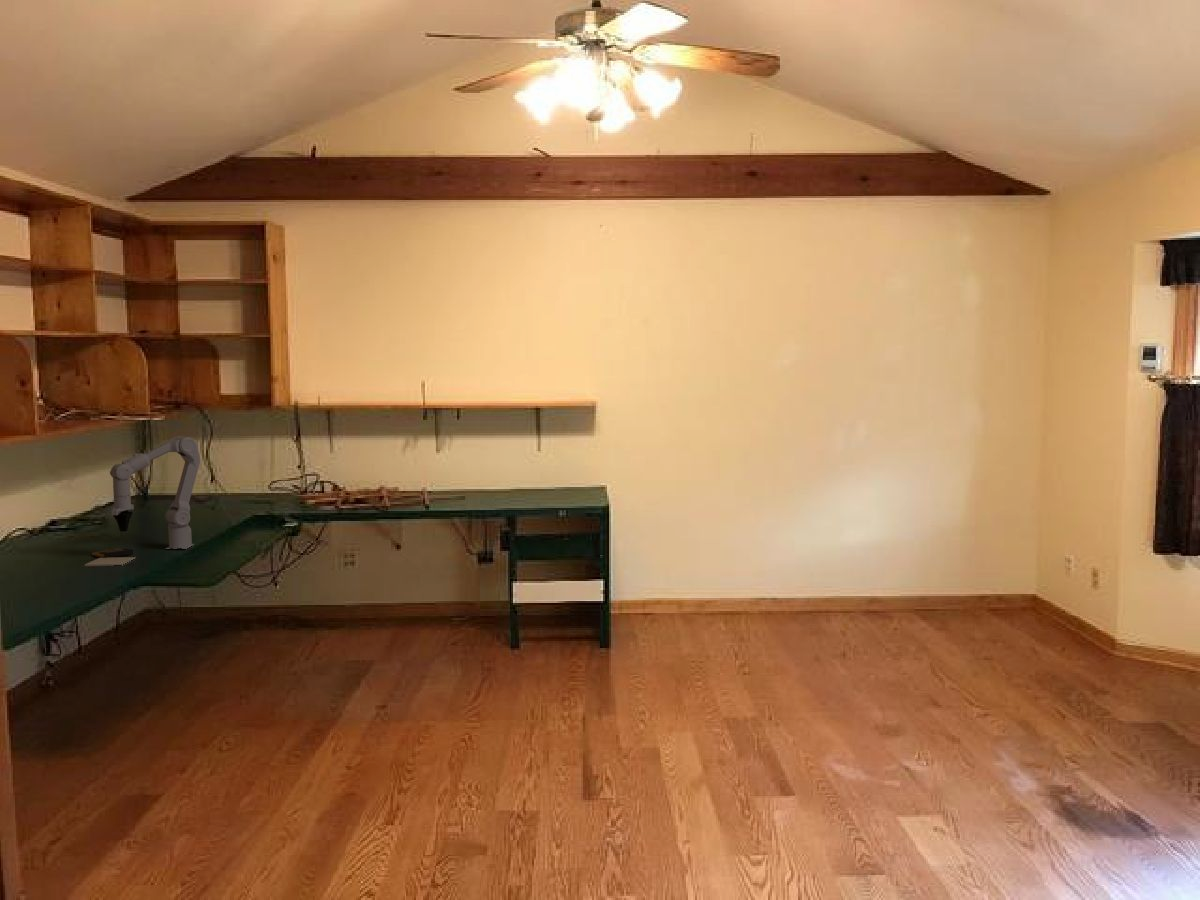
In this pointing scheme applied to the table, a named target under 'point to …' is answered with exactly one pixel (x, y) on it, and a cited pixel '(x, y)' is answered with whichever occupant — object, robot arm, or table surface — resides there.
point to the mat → (110, 561)
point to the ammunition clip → (113, 553)
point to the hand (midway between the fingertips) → (123, 531)
